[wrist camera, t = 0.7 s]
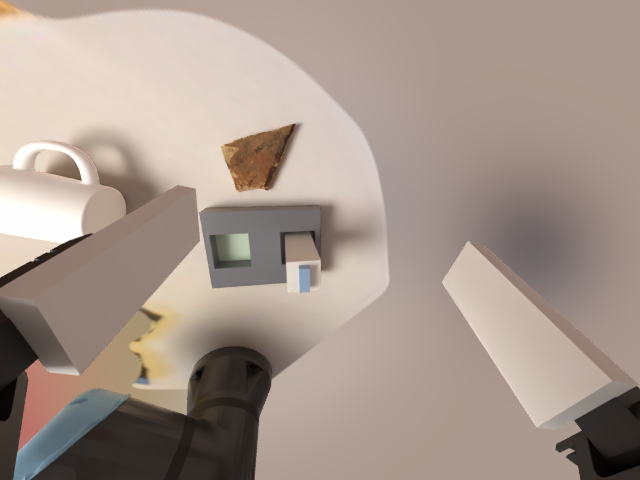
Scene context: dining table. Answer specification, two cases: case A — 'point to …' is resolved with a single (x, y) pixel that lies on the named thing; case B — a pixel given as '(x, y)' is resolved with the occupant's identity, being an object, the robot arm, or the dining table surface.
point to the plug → (302, 262)
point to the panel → (253, 242)
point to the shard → (256, 158)
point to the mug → (55, 197)
